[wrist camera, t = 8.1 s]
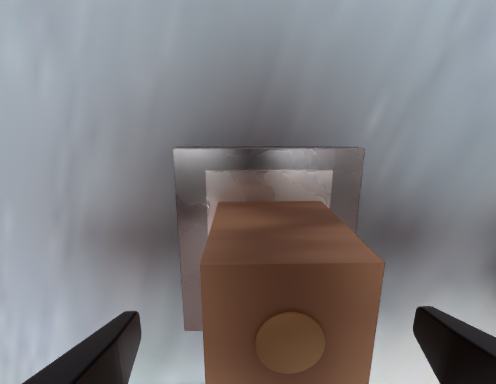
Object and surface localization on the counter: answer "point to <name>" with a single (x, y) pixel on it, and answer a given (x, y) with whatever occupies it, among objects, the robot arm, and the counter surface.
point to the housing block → (287, 296)
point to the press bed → (254, 194)
